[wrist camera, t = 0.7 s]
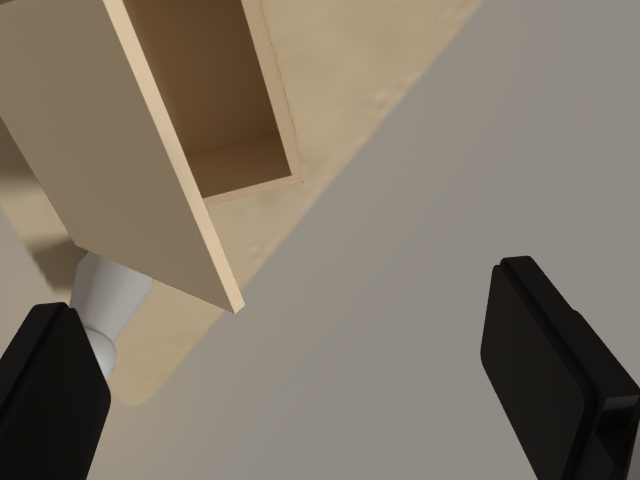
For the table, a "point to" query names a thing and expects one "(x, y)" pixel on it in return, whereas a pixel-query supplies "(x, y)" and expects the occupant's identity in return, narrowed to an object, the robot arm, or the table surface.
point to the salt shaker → (106, 303)
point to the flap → (107, 143)
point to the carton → (220, 93)
